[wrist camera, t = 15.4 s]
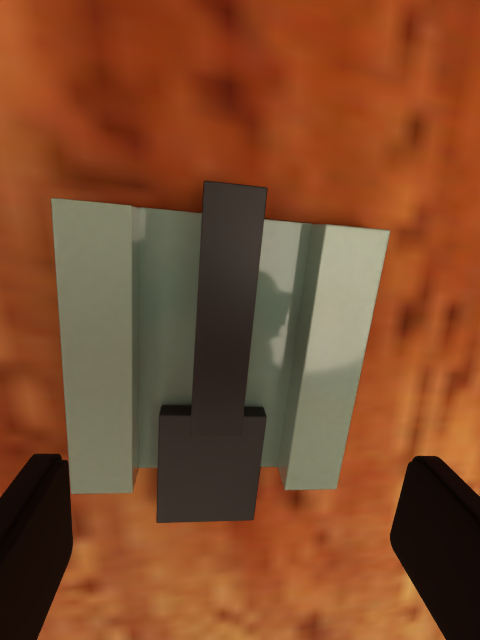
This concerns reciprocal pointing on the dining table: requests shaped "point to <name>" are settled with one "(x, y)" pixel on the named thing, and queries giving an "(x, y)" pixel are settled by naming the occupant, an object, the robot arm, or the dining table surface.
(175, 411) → the spatula
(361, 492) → the dining table surface
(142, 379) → the spoon rest
